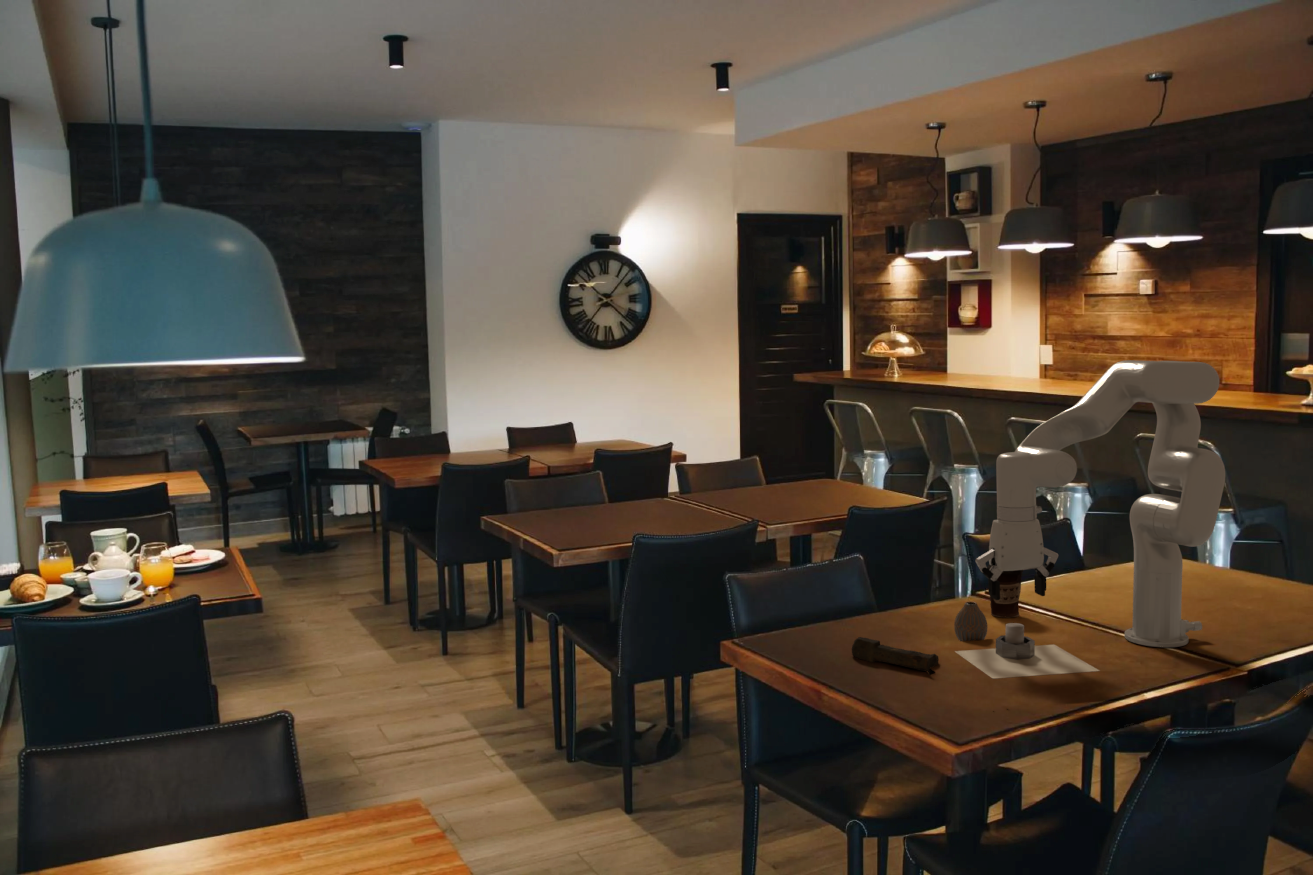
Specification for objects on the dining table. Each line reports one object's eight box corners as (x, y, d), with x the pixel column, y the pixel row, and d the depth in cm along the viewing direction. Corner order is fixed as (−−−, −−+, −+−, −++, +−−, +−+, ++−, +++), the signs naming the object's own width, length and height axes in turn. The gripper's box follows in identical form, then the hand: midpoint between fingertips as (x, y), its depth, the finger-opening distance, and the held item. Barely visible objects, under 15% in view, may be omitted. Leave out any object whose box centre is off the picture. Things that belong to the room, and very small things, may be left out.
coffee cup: (1028, 619, 257) (1029, 564, 256) (992, 620, 257) (993, 565, 256) (1017, 609, 266) (1017, 556, 265) (982, 610, 266) (982, 557, 265)
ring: (1023, 648, 230) (1023, 633, 230) (1039, 657, 224) (1039, 643, 223) (991, 650, 229) (991, 636, 229) (1006, 660, 223) (1006, 645, 222)
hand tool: (940, 671, 222) (940, 649, 221) (930, 676, 219) (930, 653, 219) (859, 654, 235) (859, 632, 234) (849, 658, 232) (848, 637, 231)
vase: (988, 647, 237) (989, 607, 236) (955, 646, 238) (955, 606, 237) (985, 638, 243) (986, 599, 242) (953, 637, 245) (953, 598, 244)
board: (1054, 651, 233) (1054, 616, 232) (1100, 678, 215) (1100, 640, 214) (954, 658, 230) (954, 622, 229) (992, 685, 212) (992, 647, 211)
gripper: (1047, 507, 228) (1048, 588, 230) (967, 513, 226) (969, 595, 228) (1066, 513, 221) (1066, 597, 223) (983, 520, 219) (985, 604, 221)
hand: (1017, 596), depth 226 cm, fingers open, 9 cm apart
